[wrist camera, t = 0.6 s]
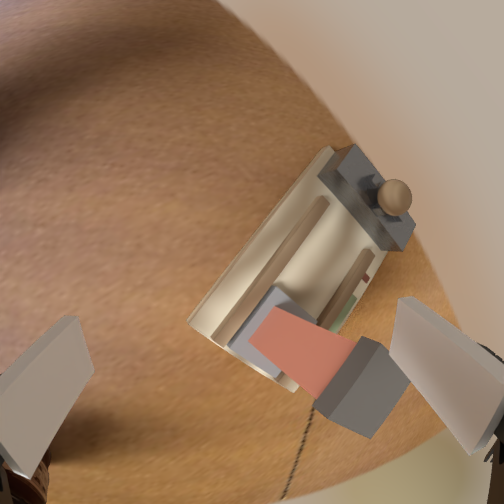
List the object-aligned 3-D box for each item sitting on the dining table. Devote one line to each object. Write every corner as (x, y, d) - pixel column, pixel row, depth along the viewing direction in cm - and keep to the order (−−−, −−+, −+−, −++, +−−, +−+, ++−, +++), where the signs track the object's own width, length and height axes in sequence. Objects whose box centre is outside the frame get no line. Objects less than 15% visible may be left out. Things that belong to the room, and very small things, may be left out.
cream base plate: (185, 320, 26) (190, 328, 24) (321, 148, 31) (335, 142, 28) (287, 387, 30) (299, 397, 28) (390, 231, 35) (405, 230, 33)
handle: (226, 344, 26) (307, 431, 13) (271, 284, 28) (386, 320, 14) (283, 381, 28) (376, 458, 15) (323, 328, 30) (433, 374, 16)
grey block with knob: (316, 176, 29) (344, 166, 25) (335, 151, 30) (362, 140, 25) (381, 250, 33) (410, 252, 28) (394, 225, 33) (423, 224, 29)
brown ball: (364, 199, 27) (390, 195, 24) (379, 175, 28) (404, 169, 24) (384, 224, 28) (410, 222, 25) (397, 199, 29) (422, 196, 25)
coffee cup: (20, 404, 20) (-22, 478, 8) (73, 456, 22) (61, 539, 10) (-13, 430, 18) (-49, 495, 5) (36, 477, 20) (19, 548, 7)
